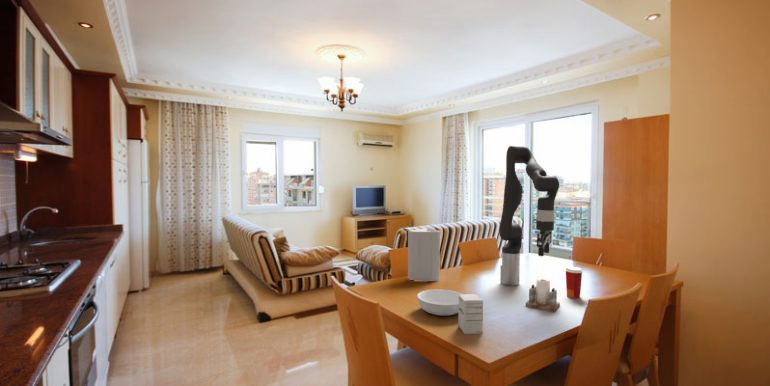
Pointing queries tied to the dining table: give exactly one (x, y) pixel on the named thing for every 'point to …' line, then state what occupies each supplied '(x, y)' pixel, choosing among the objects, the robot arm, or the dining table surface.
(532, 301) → the holder
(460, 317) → the supplement box
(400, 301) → the dining table surface
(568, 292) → the paper cup
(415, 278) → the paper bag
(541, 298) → the roll
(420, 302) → the serving bowl
